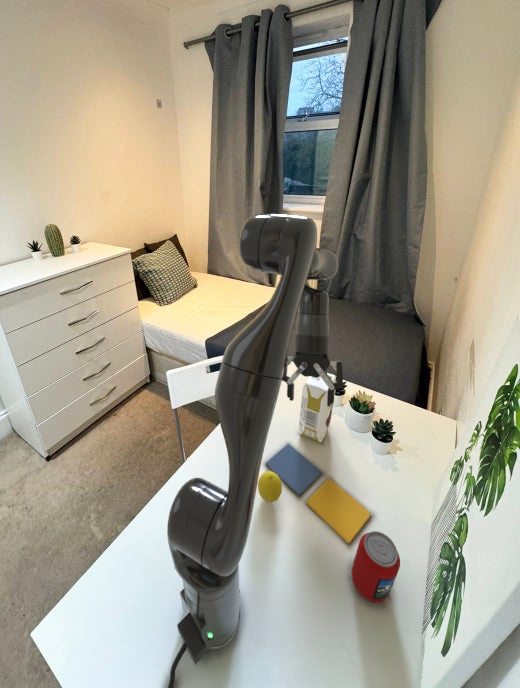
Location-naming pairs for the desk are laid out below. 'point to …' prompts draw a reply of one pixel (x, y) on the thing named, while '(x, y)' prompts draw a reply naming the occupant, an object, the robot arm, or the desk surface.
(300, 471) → the slate mat
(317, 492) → the mustard mat
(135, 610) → the desk surface
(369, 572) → the beverage can
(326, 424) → the juice carton
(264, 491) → the lemon
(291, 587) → the desk surface
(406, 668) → the desk surface
